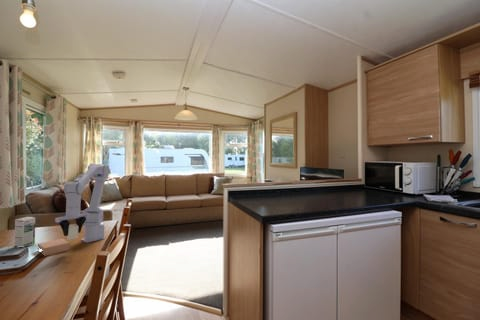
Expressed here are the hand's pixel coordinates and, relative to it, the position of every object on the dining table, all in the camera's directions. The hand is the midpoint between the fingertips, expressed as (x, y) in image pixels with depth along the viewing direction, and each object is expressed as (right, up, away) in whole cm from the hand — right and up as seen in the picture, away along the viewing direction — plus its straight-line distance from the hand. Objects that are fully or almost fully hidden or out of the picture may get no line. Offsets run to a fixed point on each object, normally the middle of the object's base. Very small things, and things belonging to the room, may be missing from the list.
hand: (72, 233), depth 111 cm
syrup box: (-30, -9, +7) cm, 32 cm away
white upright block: (0, -2, 0) cm, 2 cm away
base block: (-10, -9, +1) cm, 14 cm away
